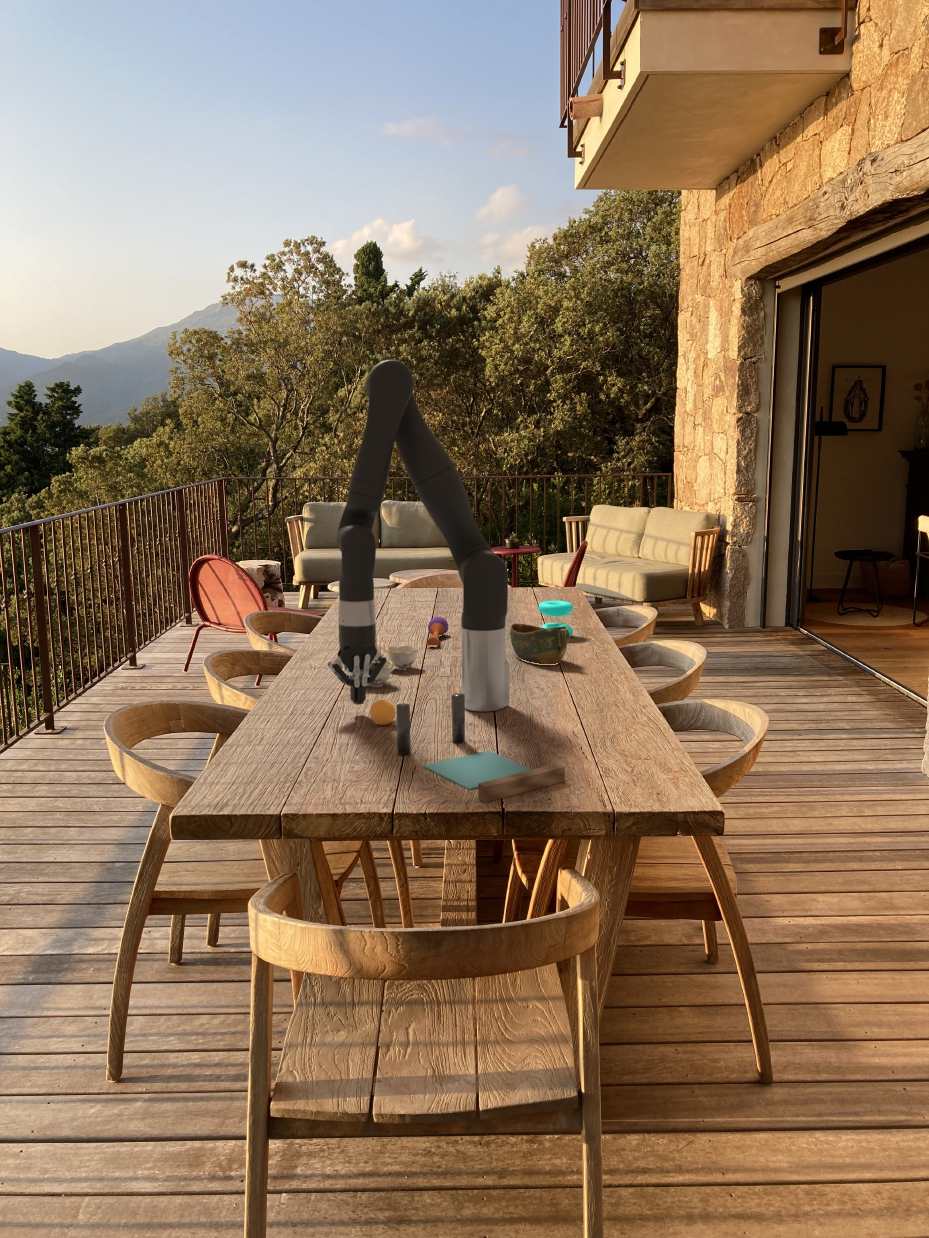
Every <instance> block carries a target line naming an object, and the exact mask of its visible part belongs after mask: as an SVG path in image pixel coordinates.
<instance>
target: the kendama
mask: <svg viewBox="0 0 929 1238" xmlns="http://www.w3.org/2000/svg"><path fill="white" fill-rule="evenodd" d="M427 629H428V632H429V634H430V633H431V634H432V635H431V634H430V637H429V638H428V639H427V642H426V645H427V646H428V645H439V646H440V640H439V639H440V637H438V636H439V635H443V634H444V633H446V632H447V633H448V631H449V623H448V621H447V620H446V619H445V618H444V617H442V616H435V617H432V618H431V619H430V620H429V622H428V625H427ZM447 633H446V634H447Z"/></svg>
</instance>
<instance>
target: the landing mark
mask: <svg viewBox="0 0 929 1238" xmlns="http://www.w3.org/2000/svg"><path fill="white" fill-rule="evenodd" d="M422 767H423V768H424V769H427V770H429V771H431V772H433V773H434V774H437V775H439V776H441V777H442V778H445V779H447V780H448V781H451V782H452V783H454V784H457V785H458V786H460V787H463V788H464V789H466V790H468V791H470V790H474V789H478V783H482V782H486V781H490V780H494V779H498V778H502V777H506V776H510V775H514V774H518V773H522V772H526V771H530V770H533V769H532V768H530V767H528V766H525V765H524V764H520V763H519V762H516V761H514V760H512V759H509V758H507V757H504V756H502V755H500V754H497V753H495V752H493V751H490V750H484V751H479V752H475V753H472V754H466V755H463V756H462V755H461V756H457V757H455V758H454V757H453V758H450V759H449V758H448V759H445V760H440V761H436V762H431V763H428V764H424V765H422Z"/></svg>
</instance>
